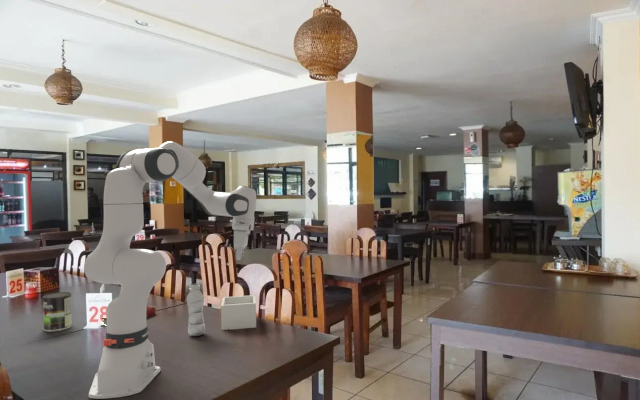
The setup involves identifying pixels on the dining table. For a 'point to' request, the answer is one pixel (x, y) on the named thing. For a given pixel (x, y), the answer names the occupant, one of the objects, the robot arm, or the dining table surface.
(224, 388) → the dining table surface
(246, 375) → the dining table surface
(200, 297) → the plastic bottle
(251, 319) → the bin
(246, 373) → the dining table surface
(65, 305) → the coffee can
